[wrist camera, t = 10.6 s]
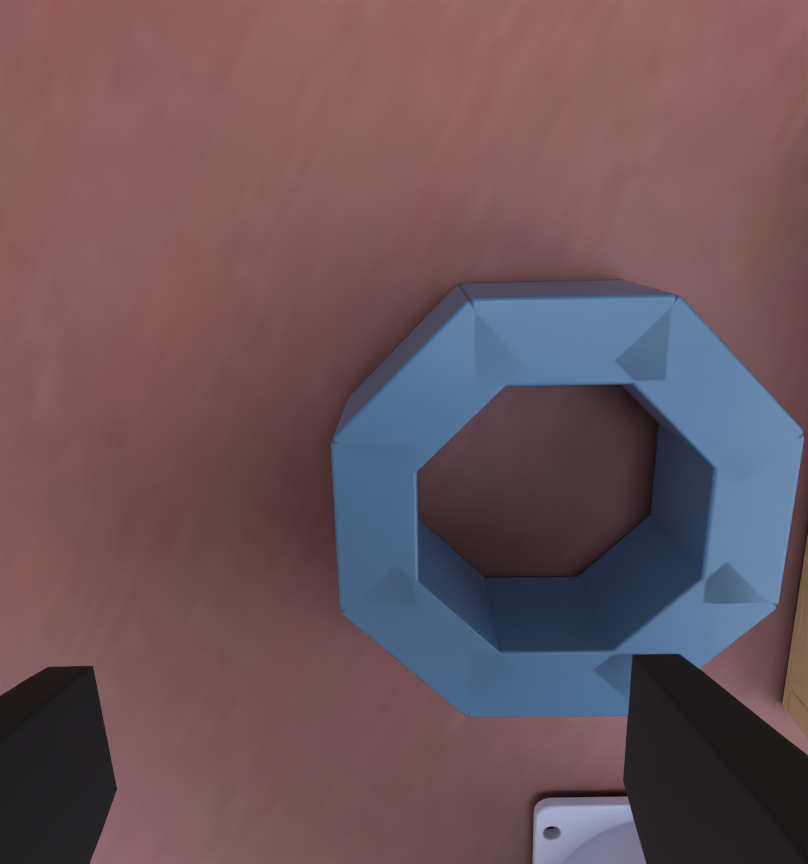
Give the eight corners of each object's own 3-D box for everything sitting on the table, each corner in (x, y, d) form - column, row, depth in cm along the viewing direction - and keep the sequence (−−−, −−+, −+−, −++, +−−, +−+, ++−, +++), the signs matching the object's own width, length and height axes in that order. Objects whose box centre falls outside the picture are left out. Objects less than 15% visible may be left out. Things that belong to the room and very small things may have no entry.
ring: (702, 630, 19) (762, 716, 16) (357, 634, 20) (344, 719, 16) (745, 276, 17) (829, 290, 13) (340, 285, 17) (322, 300, 13)
